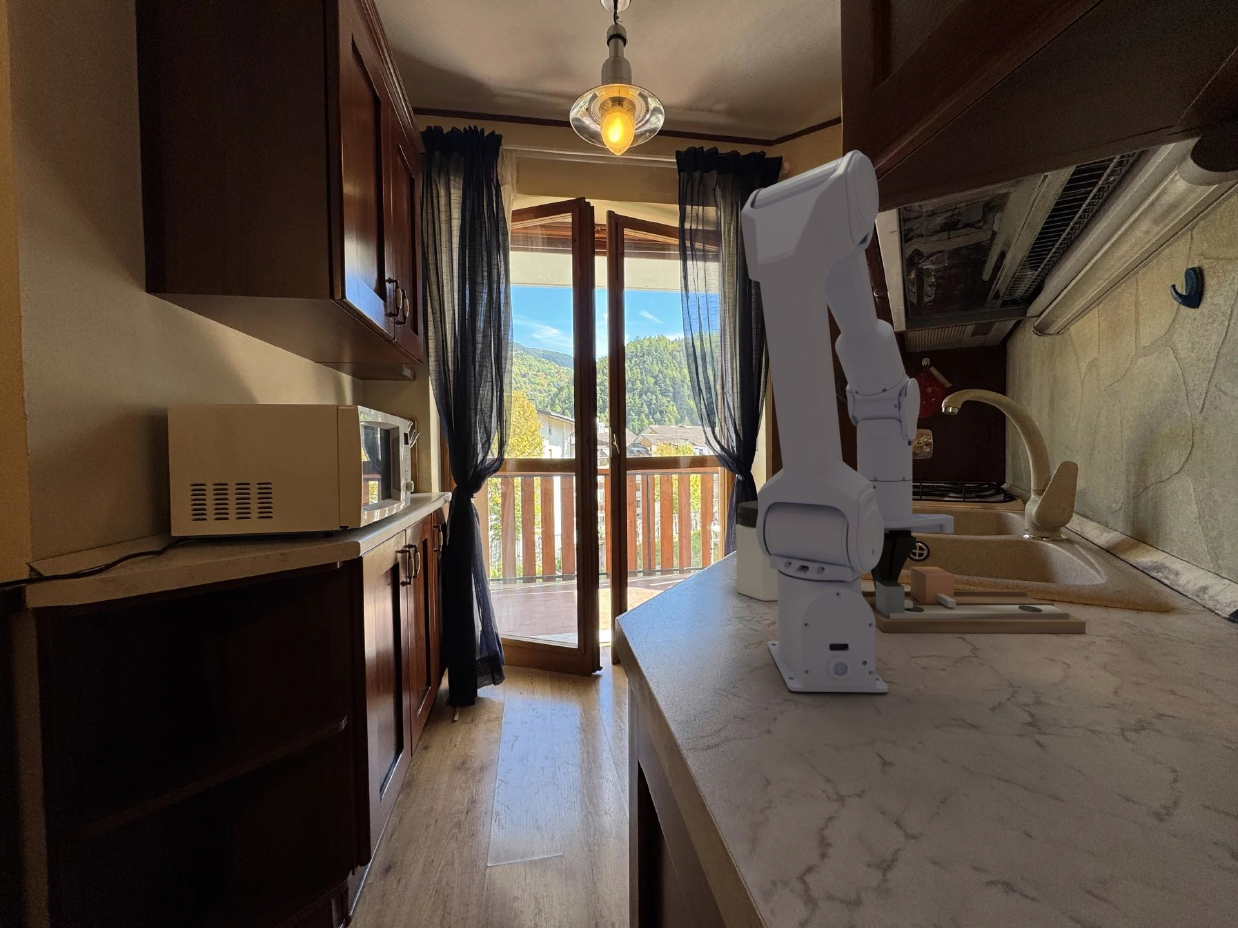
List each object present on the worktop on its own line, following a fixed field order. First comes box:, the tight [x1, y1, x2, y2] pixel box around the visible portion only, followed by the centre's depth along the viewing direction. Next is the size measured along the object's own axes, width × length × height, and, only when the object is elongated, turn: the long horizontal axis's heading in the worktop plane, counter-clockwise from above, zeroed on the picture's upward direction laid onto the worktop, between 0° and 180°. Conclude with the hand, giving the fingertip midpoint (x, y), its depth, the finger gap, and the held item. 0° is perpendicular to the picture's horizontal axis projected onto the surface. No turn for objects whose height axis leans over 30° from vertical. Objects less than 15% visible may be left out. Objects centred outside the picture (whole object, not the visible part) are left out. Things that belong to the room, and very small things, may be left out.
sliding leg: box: [910, 566, 956, 607], centre depth 58 cm, size 6×3×4 cm, turn 175°
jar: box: [735, 500, 778, 602], centre depth 69 cm, size 9×8×12 cm
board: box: [861, 590, 1087, 634], centre depth 57 cm, size 9×20×2 cm, turn 85°
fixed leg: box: [876, 580, 913, 619], centre depth 56 cm, size 2×3×4 cm
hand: (884, 593), depth 60 cm, fingers closed
